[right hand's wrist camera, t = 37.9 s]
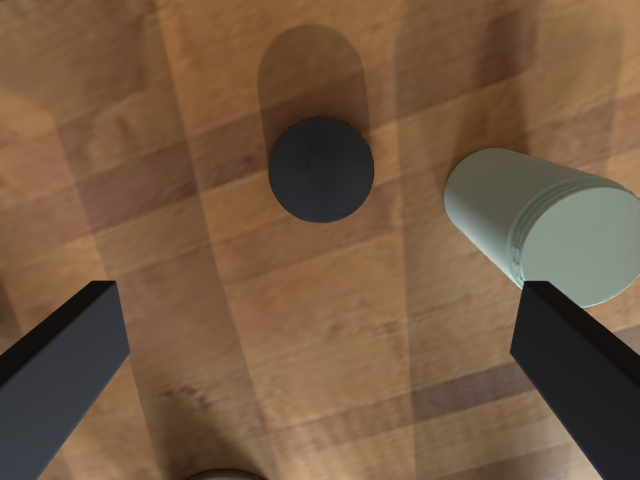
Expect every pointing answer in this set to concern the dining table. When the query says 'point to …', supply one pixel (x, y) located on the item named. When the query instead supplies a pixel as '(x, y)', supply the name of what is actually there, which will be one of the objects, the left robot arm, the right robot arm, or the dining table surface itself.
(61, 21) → the dining table surface
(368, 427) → the dining table surface
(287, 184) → the lid
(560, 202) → the jar
